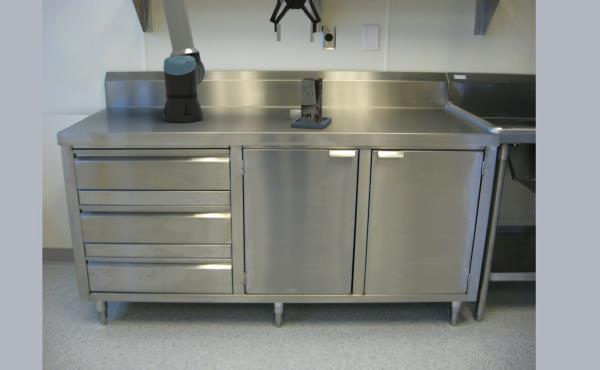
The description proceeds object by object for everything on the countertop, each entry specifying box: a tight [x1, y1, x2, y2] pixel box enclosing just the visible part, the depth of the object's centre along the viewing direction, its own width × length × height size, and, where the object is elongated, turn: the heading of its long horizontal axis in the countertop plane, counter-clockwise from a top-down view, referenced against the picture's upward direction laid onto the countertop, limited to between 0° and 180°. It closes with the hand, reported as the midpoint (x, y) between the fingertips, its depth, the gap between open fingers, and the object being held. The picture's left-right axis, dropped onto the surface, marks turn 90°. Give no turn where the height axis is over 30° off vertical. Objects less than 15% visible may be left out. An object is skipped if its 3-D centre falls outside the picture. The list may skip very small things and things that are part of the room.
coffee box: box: [300, 77, 323, 124], centre depth 181 cm, size 9×6×16 cm
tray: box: [290, 116, 333, 130], centre depth 184 cm, size 12×14×2 cm
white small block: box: [289, 108, 301, 121], centre depth 194 cm, size 6×6×4 cm
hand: (295, 41), depth 196 cm, fingers open, 13 cm apart
